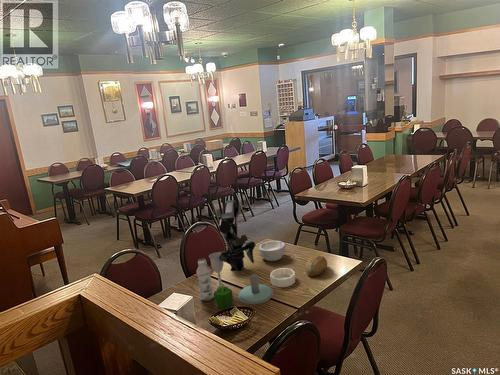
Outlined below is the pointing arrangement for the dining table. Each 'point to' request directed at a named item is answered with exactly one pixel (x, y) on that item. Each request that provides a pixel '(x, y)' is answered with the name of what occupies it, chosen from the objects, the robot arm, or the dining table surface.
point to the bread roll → (315, 265)
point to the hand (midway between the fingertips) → (245, 266)
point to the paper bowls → (272, 250)
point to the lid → (255, 291)
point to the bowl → (282, 277)
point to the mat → (255, 302)
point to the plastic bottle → (205, 280)
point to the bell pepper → (223, 297)
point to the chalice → (217, 265)
